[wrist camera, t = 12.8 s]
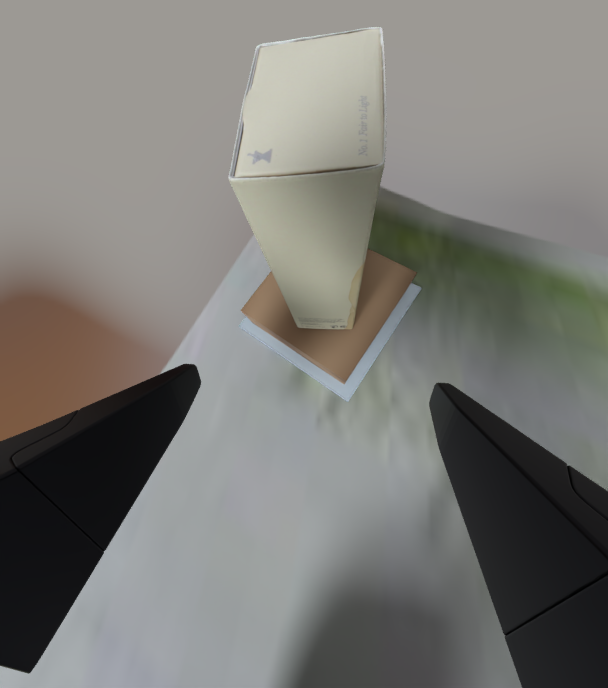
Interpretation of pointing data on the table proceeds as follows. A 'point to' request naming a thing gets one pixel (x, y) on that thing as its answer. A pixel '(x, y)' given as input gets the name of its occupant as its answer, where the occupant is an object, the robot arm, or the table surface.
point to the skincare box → (314, 166)
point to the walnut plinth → (334, 344)
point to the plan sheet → (363, 365)
